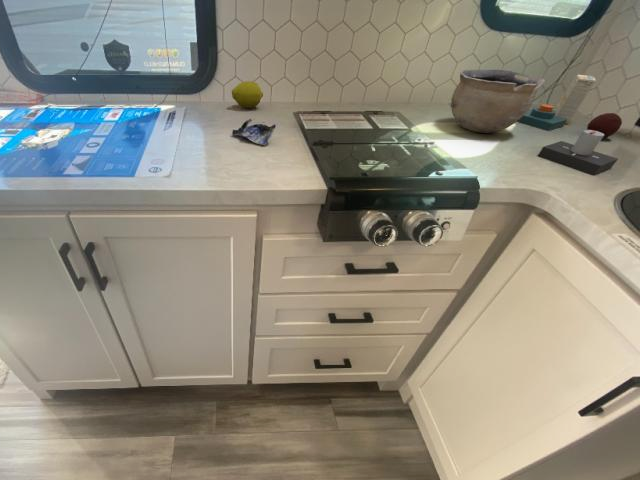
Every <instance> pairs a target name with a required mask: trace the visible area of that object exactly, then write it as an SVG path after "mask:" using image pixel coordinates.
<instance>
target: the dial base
mask: <svg viewBox="0 0 640 480" xmlns="http://www.w3.org/2000/svg"><path fill="white" fill-rule="evenodd" d="M573 146H574V144H573V143H570V142H567V141H563V140H561V141H557V142H554V143H551V144H547V145H544V146H542V148H541V150H540V151H539V153H538V155H537V157H541V158H543V159H545V160H549V161H552V162H555V163H557V164H560V165H563V166H566V167H569V168H571V169H575V170H577V171H580V172H584V173H587V174H589V175H592V176H595V175H597V174H600V173H603V172H605V171H607V170H609V169H612V167H614V166H615V163H617V161H618V160H619V158H618V157H615V156H611V155H608V154H605V153H602V152H599V151H595V150H593V151H592V153H591V154H590V155H579V154H576V153H573V152H572V151H571V148H572V147H573Z"/></svg>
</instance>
